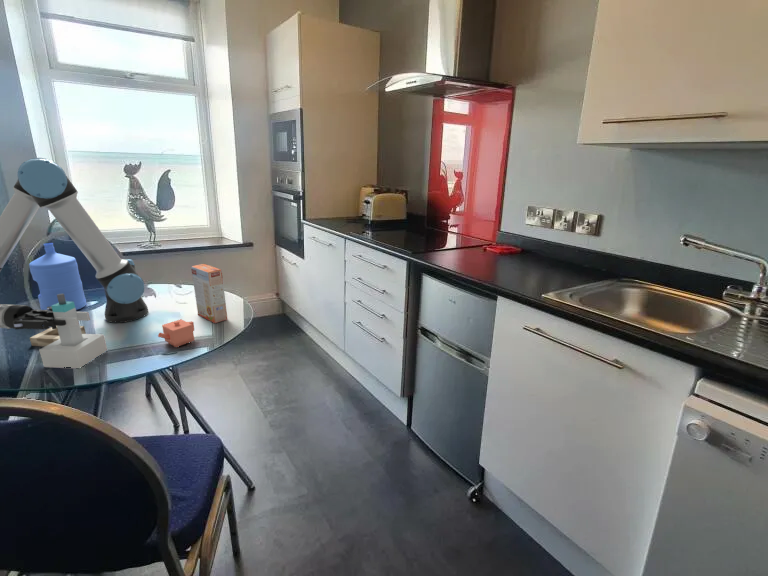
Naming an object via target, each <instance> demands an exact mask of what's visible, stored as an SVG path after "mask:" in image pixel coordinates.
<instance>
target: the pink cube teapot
mask: <svg viewBox="0 0 768 576" xmlns="http://www.w3.org/2000/svg"><path fill="white" fill-rule="evenodd" d="M161 328H162V332H158V335H157V336H158V338H162V339H164V341H165V342H166V343H168V344H169V345H170V344H171V346H172V347H174V348H175V347H178V346H180V347H181V346H183V345H187V344H186V343H189V342H191V343H192V342H194V341H196V340H195V335H194V332H195V323H194V321H186V320H183V319H182V318H181V319H177V320H174V321H171V322H168V323H167V322H166V323H164V324H162V326H161ZM178 348H179V347H178Z"/></svg>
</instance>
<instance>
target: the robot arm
mask: <svg viewBox="0 0 768 576" xmlns="http://www.w3.org/2000/svg"><path fill="white" fill-rule="evenodd" d="M17 169H18V170H17V180H16V182H15V184H14V185H13V187H12V189H13V191H14V193H13V195H12V196H11V197H10V199H9V201H8V203H7V204H6V206H5V207H4V209H3V211H2V212H1V214H0V272H1V271H2V269H4V265H6V262H8V259H9V257H10V256H11V255H12V253H13V251H14V249H15V248H16V247H17V245H18V243H19V242H20V240H21V238H22V237H23V235H24V234H25V232H26V230H27V228H28V227H29V225H30V224H31V222H32V221H33V219H34V217H35V215H36V214H37V213H38V211H39V210H40V209H44V210H47V211H49V212H50V213H51V215H52V216H53V217H54V218H55V219H56V221H57V222H58V224H60V226H61V227H62V229H63V230H64V231H65V232H66V234H67V235H68V236H69V238H70V239H71V240H72V241H73V243H74V244H75V245H76V246H77V248H78V249H79V250H80V251H81V253H82V254H83V255H84V256H85V258H86V259H87V261H88V262H89V263H90V264H91V266H92V267H93V268H94V270H95V271H96V272H95V276H94V277H95V278H96V280H97V281H98V282H99V284H100V285H101V286H102V288H103V290H104V295H105V298H106V303H105V308H104V318H105V321H106V322H109V323H126V322H125V321H127V322H132V321H135V319H136V320H139V319H141V318H140V317H142V318H144V317H145V316H147V315H148V314H149V309H148V305H147V304H146V302H145V300H144V299H143V297H142V296H143V295H144V292H145V281H144V280H143V278H142V277H140V276H139V274H138V272H137V271H136V267H135V266H136V264H135V262H134V260H133V259H129V258H126V259H125V258H121V257H120V255H119V254H118V253H117V251H116V250H115V249H114V247H113V246H112V245H111V243H110V242H109V241H108V239H107V238H106V236H105V235H104V234H103V233H102V231H101V230H100V229H99V227H98V226H97V225H96V223H95V221H94V220H93V219H92V217H91V216H90V215H89V213H88V212H87V210H86V209H85V208H84V206H83V205H82V203H81V202H80V201H79V200H78V198H77V197H78V194H79V192H78V190H77V188H75V185H73V183H72V182H71V180H70V178H68V176H67V175H66V173H65V170H64V169H63V168H62V167H61V166H60V165H59V164H58V163H56V162H54V161H53V160H51V159H48V158H45V157H44V158H43V157H33V158H30V159H28V160H26V161H24V162H22V163H21V165H20V166H19V167H18V168H17ZM76 313H77V317H78V320H79V321H81V322H82V321H85V322H86V321H91V317H90V313H89V311H76ZM147 313H148V314H147ZM146 314H147V315H146ZM144 315H145V316H144ZM143 316H144V317H143ZM138 318H139V319H138ZM55 319H56V320H55ZM78 320H77V318H74V317H56V318H54V314H53V310H52V307H51V306H49V307H47V310H41V309H38V308H37V309H34V308H32V307H31V306H29V305H26V304H6V303H5V304H4V303H3V304H1V303H0V329H7V330H10V329H15V330H25V329H26V330H47V329H49V328H51V327H52V329H56V328H57V327H56V326H72V327H77V326H79V324H80V323H79V324H78ZM131 320H132V321H131Z"/></svg>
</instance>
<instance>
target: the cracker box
mask: <svg viewBox="0 0 768 576" xmlns="http://www.w3.org/2000/svg"><path fill="white" fill-rule="evenodd" d="M190 268H191V275H192V280H193V281H192V282H193V289H194V294H195V296H194V297H195V303H196V311H197V315H198V316H199V317H202V318H204V319H206V321H209V322H211V323H213V324H217V323H220V322H224V321H227V320H228V313H227V305H226V304H227V303H226V296H225V295H226V294H225V288H224V279H223V270H222V269H220V268H218V267H214V266H212V265H209V264H205V263H200V264H196V265H192V266H190Z"/></svg>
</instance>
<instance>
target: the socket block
mask: <svg viewBox="0 0 768 576" xmlns="http://www.w3.org/2000/svg"><path fill="white" fill-rule="evenodd" d="M82 337H83V342H81V343H79V344H78V345H76V346H62V344H61V340H60V339H58V340H57V341H55V342H53V343H51V344H49V345H47V346H42V348H39V349H38V351H39V353H40V357H41V360H42V364H43V367H44V368H55V369H56V368H58V369H59V368H60V369H67V368H66V367H71V368H70V369H76V368H80V367H82V366H83V365H85V364H87V363H88V362H89V361H91V360H92V359H94V358H96V357H97V356H99V355H101V354H102V353H104V352H105V351H107V350H108V347H107V343H106V337H105V334H101V333H100V334H99V333H97V334H96V333H95V334H94V333H86V334H82ZM107 352H108V351H107ZM105 353H106V352H105ZM105 353H104V354H105ZM102 355H103V354H102ZM102 355H101V356H102ZM99 357H100V356H99ZM96 359H97V358H96ZM94 360H95V359H94ZM91 362H92V361H91ZM88 364H89V363H88ZM88 364H87V365H88ZM85 366H86V365H85ZM64 367H65V368H64ZM82 368H83V367H82Z"/></svg>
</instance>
